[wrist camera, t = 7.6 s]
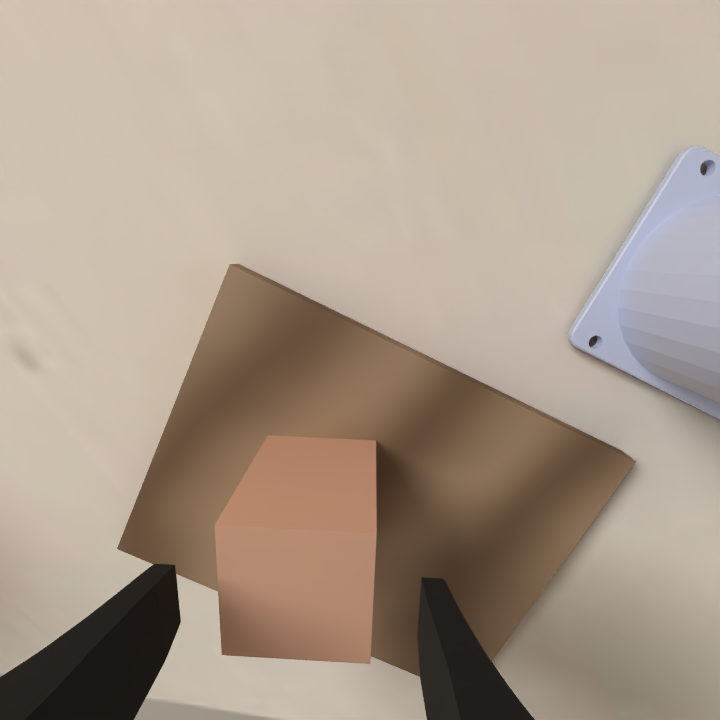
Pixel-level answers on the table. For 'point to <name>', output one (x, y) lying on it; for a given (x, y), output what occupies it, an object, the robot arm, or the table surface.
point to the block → (300, 552)
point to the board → (393, 461)
